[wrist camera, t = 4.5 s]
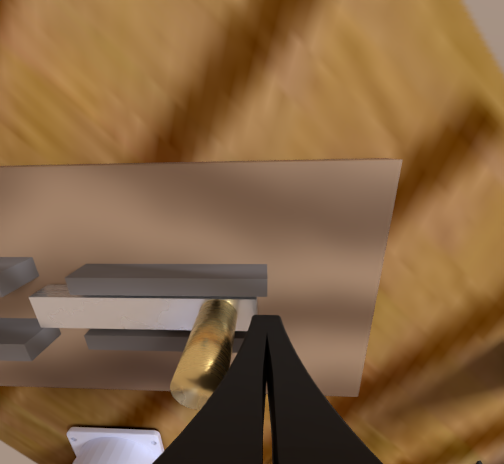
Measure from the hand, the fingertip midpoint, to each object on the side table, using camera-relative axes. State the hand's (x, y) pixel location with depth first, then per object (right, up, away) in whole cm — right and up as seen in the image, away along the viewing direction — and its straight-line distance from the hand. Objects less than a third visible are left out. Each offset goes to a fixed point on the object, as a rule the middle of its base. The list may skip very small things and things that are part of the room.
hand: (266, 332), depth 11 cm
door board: (-7, +1, +4) cm, 8 cm away
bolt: (-6, +1, +2) cm, 7 cm away
